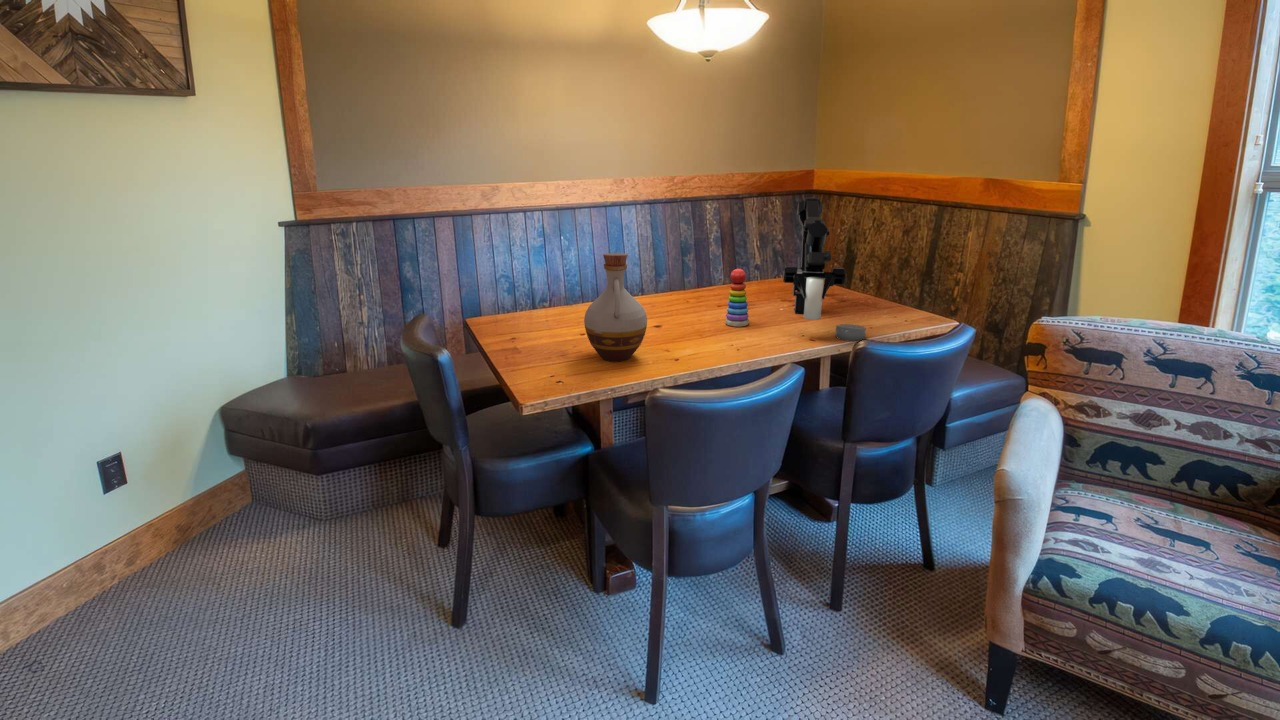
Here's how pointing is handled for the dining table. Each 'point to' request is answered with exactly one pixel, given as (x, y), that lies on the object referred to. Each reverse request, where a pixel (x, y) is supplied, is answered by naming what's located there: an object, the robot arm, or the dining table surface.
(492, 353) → the dining table surface
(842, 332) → the plinth
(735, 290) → the stacking toy
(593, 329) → the jug
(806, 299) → the tapered white cylinder
